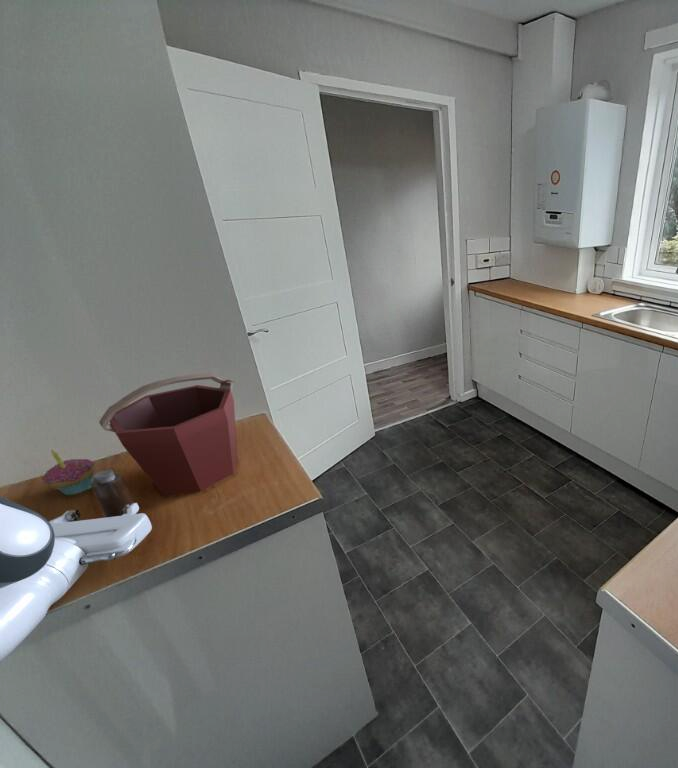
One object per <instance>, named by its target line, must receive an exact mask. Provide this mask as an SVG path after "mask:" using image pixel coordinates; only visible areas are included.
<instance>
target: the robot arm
mask: <svg viewBox="0 0 678 768" xmlns="http://www.w3.org/2000/svg"><path fill="white" fill-rule="evenodd" d="M138 504H139V503H137V502H134V503H132V504H126V506H125V507H124V508H123V509H122V510H123V512H124V514H123V515H122V516H115V517H107V518H106V517H100V518H99V517H98V518H92V519H91V518H89V519H81V520H79V519H80V518H81V513H80V512H79V509H71V510H66V511H65V512H64V513H63V514H62V515H61V516H58V517H55V518H53V519H51V520H48V519H47V518H46V517H45V516H43V514H40V513H38V512H37V511H35V510H33V509H31V508H28V507H27V506H24V505H21V504H19V503H16V502H14V501H12V500H9V499H7V498H6V497H4V496H2V495H0V662H1V661H3V660H4V659H5V658H6V657H7V656H8V655H10V654H11V653H12V652H13V651H14V650H15V649H16V648H17V647H18V646H19V645H20V644H22V642H23V641H24V640H25V639H26V638H27V637H28V636H29V635H30V634H31V633H32V632H33V630H34V629H36V627H37V626H38V625H39V624H40V623H41V622H42V620H43V619H44V618H45V617H46V615H47V613H48V611H49V609H50V607H51V606H52V605H53V604H55V603H56V602H58V601H59V600H61V598H62V597H64V596H65V595H66V593H67V592H68V591H69V590H70V589H71V588H72V586H74V584H75V583H76V582H77V581H78V580H79V579H80V578H81V576H82V575H83V574H84V573H85V572H86V570H87V569H88V567H89V564H93V563H98V562H103V561H104V562H108V561H114V560H115V559H117V558H120V557H123V556H125V555H127V554H129V553H130V552H132V551H133V550H135V548H136V547H137V546H138V545H139V544H141V542H142V541H143V540H144V539H145V538H146V537H147V536H148V535H150V533H151V532H152V529H153V525H152V522H151V520H150V518H149V517H148V515H147V514H146V513H144V512H141V513H139V510H140V507H139V505H138ZM137 512H138V513H139V514H136V513H137Z"/></svg>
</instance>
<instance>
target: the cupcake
mask: <svg viewBox="0 0 678 768" xmlns="http://www.w3.org/2000/svg"><path fill="white" fill-rule="evenodd" d="M50 451H51V452H52V453H51V455H52V456H53V458H54V459H55V461H56V462H57V464H55V465H54V466H52V467H50V468H49V469H48V470H46V472H45V473H44V474H43V476H42V481H43V483H44V485H45V486H46V487H48V488H50V489H56V490H58V491H60V492H61V493H62V494H64V495H67V496H70V495H71V496H72V495H77V494H79V493H82V492H85V491H86V490H90V489H92V487H91V483H92V482H93V481H94V475H95V474H96V471H97V468H98V467H97V465H96V464H95V462H94V461H93V460H91V459H88V458H74V459H73V458H71V459H68V460H64V461H63V460H62V458H61V457H60V456H59V454H58V453H57V451H54V450H53V449H51V450H50Z"/></svg>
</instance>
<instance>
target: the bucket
mask: <svg viewBox="0 0 678 768" xmlns="http://www.w3.org/2000/svg"><path fill="white" fill-rule="evenodd" d="M202 380H205V381H206V380H211V381H213V382H215V383H216V384H217V383H218V384H220V385H219V387H214V386H206V385H199V384H195V385H192V386H191V385H190V386H186V387H180V388H177V389H172V390H166V391H162V392H157V393H152V394H148V395H145V394H147V393H149V392H151V391H154V390H157V389H160V388H162V387H166V386H170V385H174V384H178V383H185V382H194V381H202ZM234 383H235V382H234V381H233V380H231V379H229V378H224V377H218V376H216V375H214V374H212V373H211V372H208V373H207V372H206V373H196V374H195V373H194V374H186V375H180V376H175V377H174V376H173V377H169V378H165V379H161V380H156V381H154V382H153V381H152V382H151V383H147V384H144V385H142V386H140V387H138V388H137V389H135V390H133V391H131V392H130V393H129V394H126V395H125V396H123V397H121V399H119V400H117V402H115V403H114V404H112V405H111V406H109V407H108V408H107V409H106V411H105V412H104V413H103V415H102V416H101V418H100V420H99V422H98V423H99V424H100V427H101V428H102V429H103V430H104V431H108V432H113V433H115V435H116V437H117V438H118V440H119V442H120V443H121V445H122V446H123V448H124V449H125V451H126V452H127V453H128V454H129V455H130V456H131V458H132V459H133V460H134V461H135V462H136V464H137V465H138V466H139V467H140V468H141V470H142V471H143V472H144V473H145V474H146V476H147V477H148V478H149V479H150V481H151V482H152V483H153V484H154V485H155V486H156V488H157V489H158V490H159V491H160V492H161V494H162V495H163V496H173V495H183V494H189V493H190V494H192V493H199V492H203V491H204V490H206V489H209V488H210V487H212V486H214V485H215V484H217V483H219V482H221V481H223V480H224V479H226V478H228V477H230V476H232V475H233V474H234V472H235V469H236V464H237V461H238V444H237V429H236V427H237V426H236V414H235V413H236V412H235V399H234V396H233V394H232V392H233V388H234ZM142 396H143V397H142ZM140 397H141V398H140Z"/></svg>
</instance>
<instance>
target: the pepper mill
mask: <svg viewBox="0 0 678 768" xmlns="http://www.w3.org/2000/svg"><path fill="white" fill-rule="evenodd" d="M91 489H92V491H93V494H94V495H95V498H96V499H97V501H98V504H99V506H100V508H101V510H102V512H103V514H104V516H105V518H107V517H115V516H122V515H123V514H124V512H123V510H122V509H123V508H124V507H125V506H126V504H132V503H135V502H134V500H133V497H132V495H131V493H130V490H129V488H128V486H127V484H126V482H125V479H124V477H123V475H122V474H121V473H118V472H114V471H113V470H112V469H103V470H101V471H99V472H97V473H94V475H93V482H92V483H91ZM136 514H140V513H139V511H138V512H137V513H136Z"/></svg>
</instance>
